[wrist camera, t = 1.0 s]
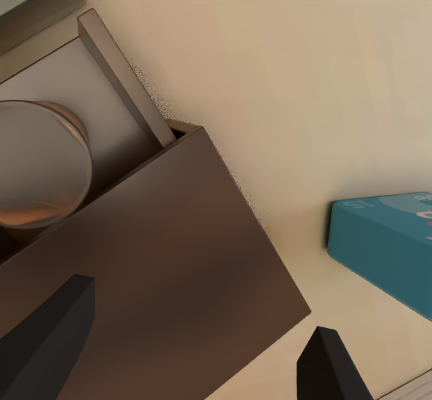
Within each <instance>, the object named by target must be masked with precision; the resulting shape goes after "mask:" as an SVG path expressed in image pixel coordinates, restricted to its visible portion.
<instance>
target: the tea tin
mask: <svg viewBox="0 0 432 400" xmlns="http://www.w3.org/2000/svg"><path fill="white" fill-rule="evenodd" d="M92 178H93V161H92V155H91V151H90V144H89V137H88V133H87V130H86V128H85V126H84V124H83V123H82V121H81V120H80V119H79V118H78V116H77V115H75V114H74V113H73V112H72V111H71V110H69V109H68V108H66V107H64V106H62V105H60V104H58V103H54V102H50V101H40V100H38V101H27V100H4V101H0V226H4V227H8V228H15V229H34V228H40V227H45V226H48V225H51V224H54V223H56V222H58V221H61V220H62V219H64V218H66V217H67V216H69V215H70V214H71V213H72V212H74V211H75V210H76V209H77V208H78V207H79V206H80V204H81V203H82V202H83V200H84V199H85V197H86V195H87V193H88V191H89V189H90V186H91V182H92Z"/></svg>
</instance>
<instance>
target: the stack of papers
mask: <svg viewBox="0 0 432 400" xmlns="http://www.w3.org/2000/svg"><path fill="white" fill-rule="evenodd" d="M379 400H432V370H431V371H429V372H427V373H425V374H423V375H422V376H420V377H418V378H416V379H415V380H413V381H411V382H409V383H407V384H406V385H404V386H402V387H400V388H398V389H397V390H395V391H393V392H391V393H390V394H388V395H386V396H384V397H382V398H381V399H379Z"/></svg>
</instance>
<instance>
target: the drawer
mask: <svg viewBox="0 0 432 400" xmlns="http://www.w3.org/2000/svg"><path fill="white" fill-rule="evenodd" d="M85 4H86V0H0V54H2V53H4V52H5V51H7V50H9V49H10V48H12V47H14V46H15V45H17V44H19V43H20V42H22V41H24V40H26V39H27V38H29V37H31V36H32V35H34V34H36V33H37V32H39V31H41V30H43V29H44V28H46V27H48V26H49V25H51V24H53V23H54V22H56V21H58V20H59V19H61V18H63V17H65V16H66V15H68V14H70V13H71V12H73V11H75V10H76V9H78V8H80V7H82V6H83V5H85ZM77 21H78V31H79V36H78V37H76V38H74V39H73V40H71V41H69V42H68V43H66V44H64V45H63V46H61V47H59V48H58V49H56V50H54V51H53V52H51V53H49V54H48V55H46V56H44V57H43V58H41V59H39V60H38V61H36V62H34V63H33V64H31V65H29V66H28V67H26V68H24V69H23V70H21V71H19V72H18V73H16V74H14V75H13V76H11V77H10V78H8V79H6V80H5V81H3V82H1V83H0V101H4V100H27V101H38V100H40V101H50V102H54V103H58V104H60V105H62V106H64V107H66V108H68V109H69V110H71V111H72V112H73V113H74V114H75V115H77V116H78V118H79V119H80V120H81V121H82V123H83V124H84V126H85V128H86V130H87V133H88V137H89V144H90V151H91V155H92V161H93V178H92V182H91V186H90V189H89V191H88V193H87V195H86V197H85V199H84V200H83V202H82V203H81V204H80V206H81V205H83V204H84V203H86V202H87V201H88V200H90V199H91V198H93V197H94V196H96V195H97V194H99V193H100V192H102V191H103V190H105V189H106V188H108V187H109V186H111V185H112V184H113V183H115V182H116V181H118V180H119V179H121V178H122V177H124V176H125V175H127V174H128V173H130V172H131V171H133V170H134V169H135V168H137V167H138V166H140V165H141V164H143V163H144V162H146V161H147V160H149V159H150V158H152V157H153V156H155V155H156V154H158V153H159V152H160V151H162V150H163V149H165V148H166V147H168V146H169V145H171V144H172V143H174V142H175V141H177V138H176V137H175V135H174V134H173V132H172V131H171V129H170V127H169V126H168V124H167V123H166V121H165V120H164V118H163V116H162V115H161V113H160V112H159V110H158V109H157V107H156V105H155V104H154V102H153V101H152V99H151V97H150V96H149V94H148V93H147V91H146V90H145V88H144V86H143V85H142V83H141V82H140V80H139V79H138V77H137V75H136V74H135V72H134V71H133V69H132V67H131V66H130V64H129V63H128V61H127V60H126V58H125V56H124V55H123V53H122V52H121V50H120V49H119V47H118V45H117V44H116V42H115V41H114V39H113V38H112V36H111V34H110V33H109V31H108V30H107V28H106V26H105V25H104V23H103V22H102V20H101V19H100V17H99V15H98V14H97V12H96V11H95V9H94V8H92V9H90V10H88V11H87V12H85V13H83V14H81V15H80V16H78V17H77ZM80 206H79V207H80ZM54 224H55V223H54ZM52 225H53V224H51V225H48V226H45V227H40V228H34V229H15V228H8V227H4V226H0V260H2V259H3V258H5V257H6V256H8V255H9V254H11V253H12V252H14V251H15V250H16V249H18V248H19V247H21V246H22V245H24V244H25V243H27V242H28V241H30V240H31V239H33V238H34V237H36V236H37V235H38V234H40V233H41V232H43V231H44V230H46V229H47V228H49V227H50V226H52Z"/></svg>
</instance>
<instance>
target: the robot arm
mask: <svg viewBox="0 0 432 400" xmlns="http://www.w3.org/2000/svg"><path fill="white" fill-rule="evenodd" d="M94 320H95V278H94V277H89V276H85V275H80V274H74V275H72V276H71V277H70V278H69V279H68V280H67V281H66V282H65V283H64V284H63V285H62V286H61V287H60V288H59V289H58V290H57V291H56V292H55V293H53V294H52V295H51V296H50V297H49V298H48V299H47V300H46V301H45V302H44V303H42V304H41V305H40V306H39V307H38V308H37V309H36V310H34V311H33V312H32V313H31V314H30V315H29V316H27V317H26V318H25V319H24V320H23V321H22V322H20V323H19V324H18V325H17V326H16V327H14V328H13V329H12V330H11V331H10V332H8V333H7V334H6V335H4V336H3V337H2V338H1V339H0V400H56V399H57V397H58V395H59V394H60V392H61V390H62V388H63V386H64V384H65V382H66V380H67V379H68V377H69V375H70V373H71V371H72V369H73V367H74V365H75V363H76V361H77V360H78V358H79V356H80V354H81V352H82V350H83V347H84V345H85V343H86V340H87V338H88V335H89V333H90V330H91V328H92V325H93V323H94ZM297 400H374V399H373V397H372V396H371V394H370V392H369V390H368V389H367V387H366V385H365V383H364V381H363V380H362V378H361V376H360V374H359V372H358V370H357V369H356V367H355V365H354V363H353V361H352V359H351V357H350V355H349V353H348V352H347V350H346V348H345V346H344V344H343V342H342V340H341V338H340V336H339V334H338V333H337V331H336V330H334V329H329V328H324V327H320V326H317V327H316V329H315V331H314V333H313V334H312V336H311V338H310V340H309V341H308V343H307V345H306V347H305V349H304V350H303V352H302V354H301V356H300V357H299V359H298V361H297Z"/></svg>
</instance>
